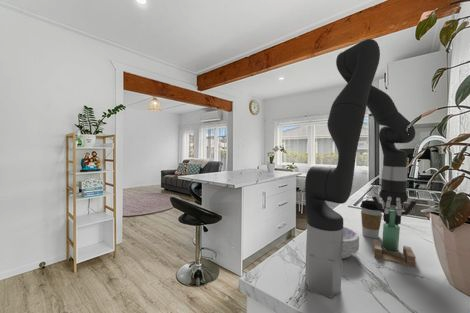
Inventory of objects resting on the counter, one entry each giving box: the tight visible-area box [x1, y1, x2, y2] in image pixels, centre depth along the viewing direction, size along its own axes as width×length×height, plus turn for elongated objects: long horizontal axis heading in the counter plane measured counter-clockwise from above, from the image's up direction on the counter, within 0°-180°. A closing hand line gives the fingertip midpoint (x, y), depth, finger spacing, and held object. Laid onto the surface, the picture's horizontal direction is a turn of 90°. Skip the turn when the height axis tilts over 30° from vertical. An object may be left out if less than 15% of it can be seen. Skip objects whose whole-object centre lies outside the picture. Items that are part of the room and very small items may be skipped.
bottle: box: [381, 209, 401, 253], centre depth 80 cm, size 5×5×15 cm
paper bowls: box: [342, 226, 360, 260], centre depth 77 cm, size 15×15×8 cm
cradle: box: [373, 239, 416, 268], centre depth 75 cm, size 8×11×3 cm
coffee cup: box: [360, 200, 384, 239], centre depth 92 cm, size 8×8×15 cm
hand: (391, 223), depth 79 cm, fingers closed on bottle, 2 cm apart
